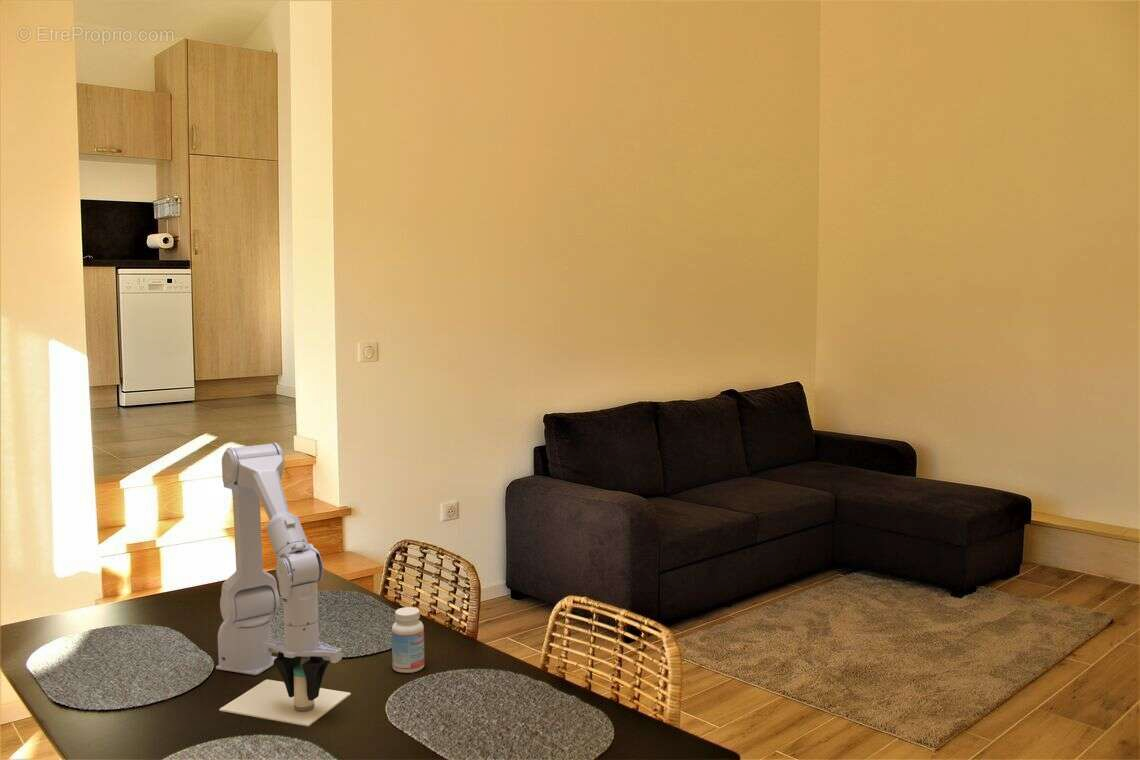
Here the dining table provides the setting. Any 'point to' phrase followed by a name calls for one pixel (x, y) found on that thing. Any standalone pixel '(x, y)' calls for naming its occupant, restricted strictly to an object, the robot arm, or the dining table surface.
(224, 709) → the paper
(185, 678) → the dining table surface
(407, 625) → the pill bottle
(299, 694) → the green lidded jar
